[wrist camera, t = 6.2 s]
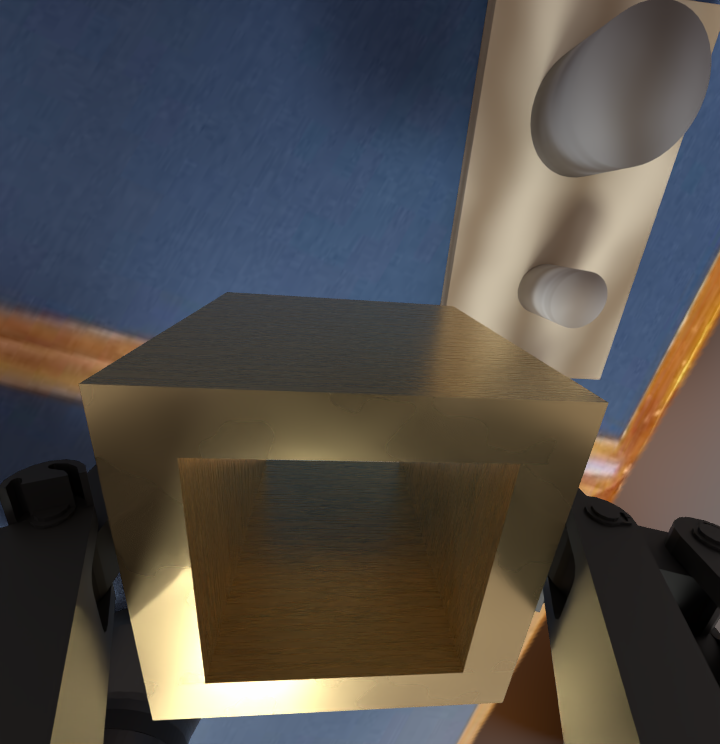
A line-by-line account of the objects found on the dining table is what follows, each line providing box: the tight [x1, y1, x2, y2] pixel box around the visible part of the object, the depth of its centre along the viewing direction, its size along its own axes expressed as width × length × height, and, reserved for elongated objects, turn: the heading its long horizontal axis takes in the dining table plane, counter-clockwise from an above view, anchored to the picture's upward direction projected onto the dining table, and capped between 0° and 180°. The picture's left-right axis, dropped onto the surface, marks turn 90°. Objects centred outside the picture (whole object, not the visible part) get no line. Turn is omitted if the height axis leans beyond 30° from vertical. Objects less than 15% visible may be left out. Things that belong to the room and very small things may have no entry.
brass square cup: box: [79, 292, 608, 720], centre depth 11 cm, size 8×8×8 cm
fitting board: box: [440, 0, 720, 379], centre depth 24 cm, size 14×24×6 cm, turn 176°
